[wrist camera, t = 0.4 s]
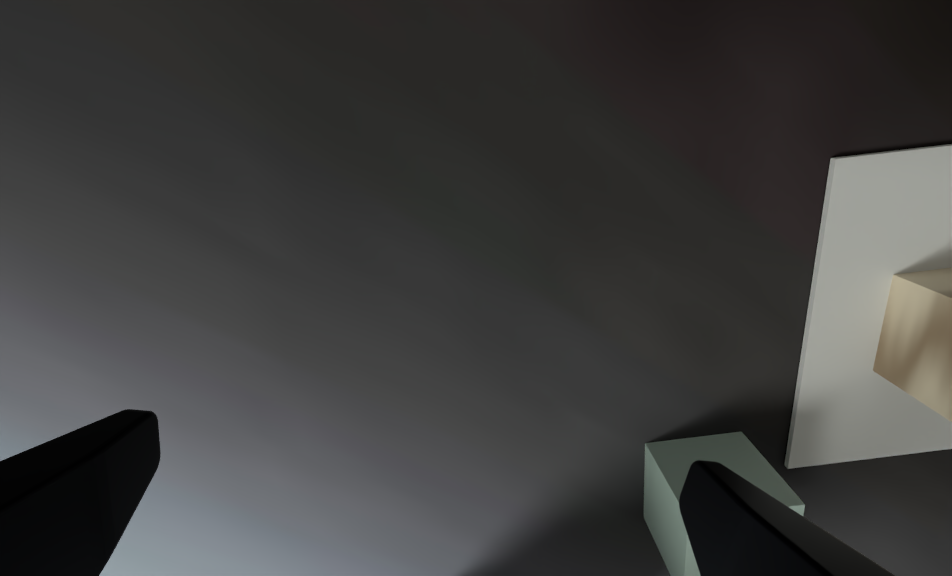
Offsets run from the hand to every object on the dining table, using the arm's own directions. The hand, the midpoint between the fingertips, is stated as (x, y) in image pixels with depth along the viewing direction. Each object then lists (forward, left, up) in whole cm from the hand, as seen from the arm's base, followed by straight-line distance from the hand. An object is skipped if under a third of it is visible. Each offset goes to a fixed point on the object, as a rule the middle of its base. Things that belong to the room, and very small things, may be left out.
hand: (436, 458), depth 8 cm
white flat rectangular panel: (-7, -22, -14) cm, 27 cm away
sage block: (-14, -11, -14) cm, 23 cm away
